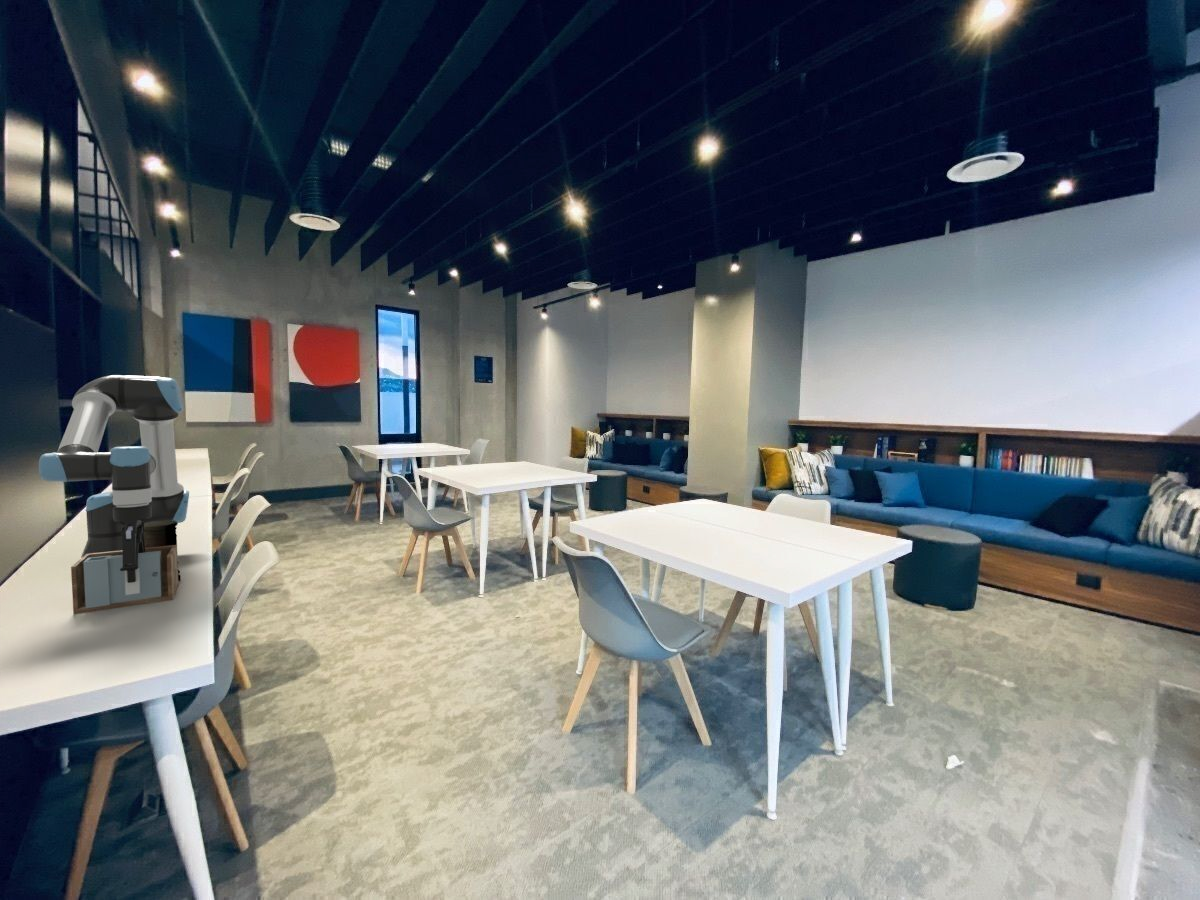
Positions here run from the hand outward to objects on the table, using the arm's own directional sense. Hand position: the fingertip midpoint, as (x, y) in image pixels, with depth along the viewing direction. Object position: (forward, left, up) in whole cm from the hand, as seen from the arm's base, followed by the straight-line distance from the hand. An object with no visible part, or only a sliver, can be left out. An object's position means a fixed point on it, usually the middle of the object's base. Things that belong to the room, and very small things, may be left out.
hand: (136, 588), depth 134 cm
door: (0, -2, -3) cm, 3 cm away
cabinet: (-5, -2, -4) cm, 7 cm away
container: (-18, +3, -4) cm, 18 cm away
